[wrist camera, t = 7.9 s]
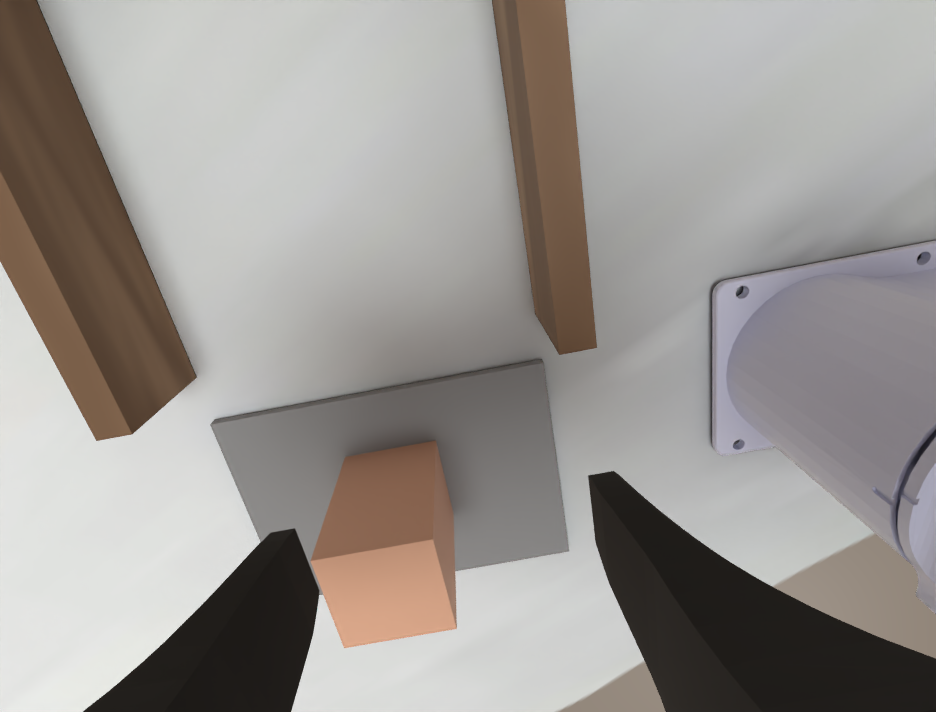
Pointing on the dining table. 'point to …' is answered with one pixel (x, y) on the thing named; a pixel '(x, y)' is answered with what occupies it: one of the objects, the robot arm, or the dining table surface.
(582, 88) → the dining table surface
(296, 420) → the rubber mat
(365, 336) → the dining table surface
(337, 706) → the dining table surface
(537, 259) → the open wooden frame
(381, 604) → the terracotta block
